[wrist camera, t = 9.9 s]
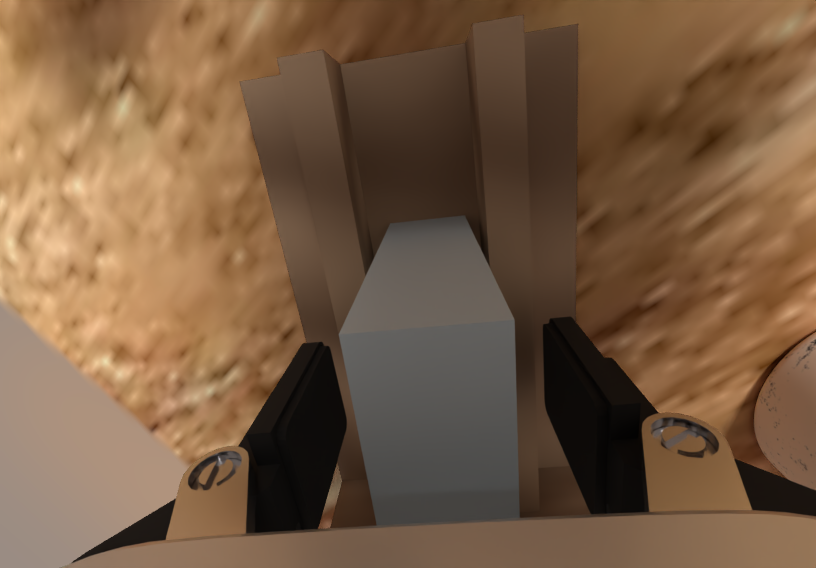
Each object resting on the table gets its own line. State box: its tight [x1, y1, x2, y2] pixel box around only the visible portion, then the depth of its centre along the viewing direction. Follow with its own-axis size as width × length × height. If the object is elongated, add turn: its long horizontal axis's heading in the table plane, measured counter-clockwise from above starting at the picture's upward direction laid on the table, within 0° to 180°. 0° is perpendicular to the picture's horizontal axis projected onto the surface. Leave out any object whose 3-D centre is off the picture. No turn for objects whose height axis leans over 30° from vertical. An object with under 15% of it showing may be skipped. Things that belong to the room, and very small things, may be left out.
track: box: [240, 15, 591, 528], centre depth 11 cm, size 18×10×10 cm, turn 8°
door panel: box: [339, 215, 520, 526], centre depth 11 cm, size 8×2×8 cm, turn 7°
